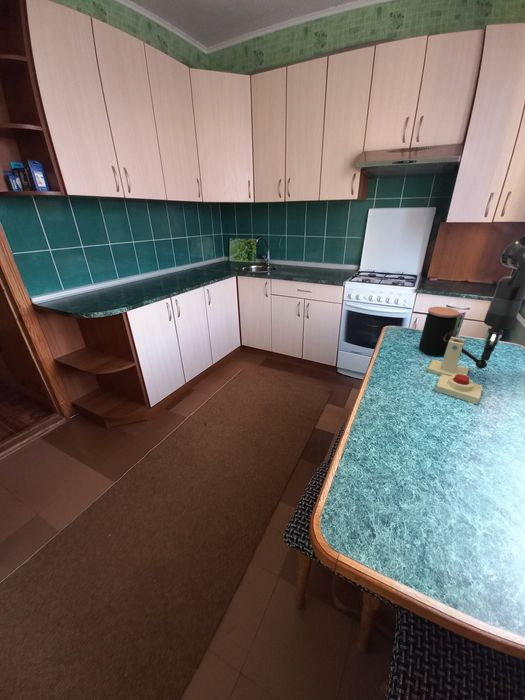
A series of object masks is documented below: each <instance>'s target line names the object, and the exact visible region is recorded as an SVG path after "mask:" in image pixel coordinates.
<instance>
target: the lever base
mask: <svg viewBox="0 0 525 700" xmlns="http://www.w3.org/2000/svg"><path fill="white" fill-rule="evenodd" d="M455 339H456V340H457V341H459V342H460V343H459V342H454V340H455ZM465 343H466V339H464V338H459V337H458V338H455V337H451V339H450V340H449V342H448V346H447V349H446V352H445V355H443V359H442V361H441V360H438V359H432V360H431V362H430V363H429V365H428V367H427V369H426V372H428V373H431V374H434V375H438V376H441V375H442V374H443V375H447V376H453V375H457V374H461V375H465V376H467V377H468V374H469V370H470V368H468V367H465V366H461V365H458V364H459V361H460V359H461V354H462V352H461V351H462V348H464V346H465Z"/></svg>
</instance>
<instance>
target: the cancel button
mask: <svg viewBox="0 0 525 700" xmlns="http://www.w3.org/2000/svg"><path fill="white" fill-rule="evenodd" d="M469 380H471V379H470V377H469V376H468V375H467V376H465V375H461V374H457V375H455V378H454V382H456V383H458V384H461V385H468V383H469Z"/></svg>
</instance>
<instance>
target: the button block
mask: <svg viewBox="0 0 525 700" xmlns="http://www.w3.org/2000/svg"><path fill="white" fill-rule="evenodd" d="M454 378H455V375H453V376H447V375H443V374H442V375H440V377H439V379H438V381H437V383H436V385H435V388H434V391H435V392H437V393H441V394H442V395H443V394H444V395H447V396H450V397H453V398H456V399H459V400H463V401H466V402H468V403H472V404H475V405H479V402H480V400H481V396H482V391H483V387H484V386H483V384H482V385H481V384H478V383H474V381H473V380H472V379H470V380H469V383H468V385H461V384H458V383H456V382H454Z"/></svg>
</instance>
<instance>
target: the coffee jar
mask: <svg viewBox="0 0 525 700" xmlns="http://www.w3.org/2000/svg"><path fill="white" fill-rule="evenodd" d="M456 310H457V309H454V308H451V307H445V306H439V307H437V306H431V307H428V309H427V312H428V313H427V314H426V316H425V320H424V324H423V328H422V332H421V337H420V340H419V343H418V348H419V351H420V352H421V353H423V354H425V355H427V356H430V357H444V356H445V352H446V349H447V346H448V342H449V340H450V339H451V337H452V335H453V332H454V329H455V325H456V322H457V316H458V315H459V312H458V311H459V310H458V311H456Z"/></svg>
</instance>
